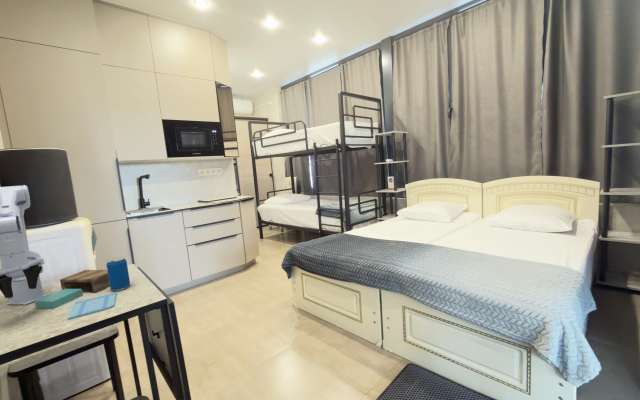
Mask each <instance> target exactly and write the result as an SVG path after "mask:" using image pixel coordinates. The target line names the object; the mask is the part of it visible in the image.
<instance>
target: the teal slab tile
mask: <svg viewBox="0 0 640 400" xmlns="http://www.w3.org/2000/svg"><path fill="white" fill-rule="evenodd" d="M82 296H84V295H83V289H82V288H75V289H63V290H62V289H61V290H59V291H56V292H53V293H52V294H50V295H48V296H46V297H43V298H41V299H39V300H36V301H34V305H35V309H48V310H49V309H51V310H52V309H56V308H58V307H60V306H63V305H65V304H67V303H69V302H71V301H74V300H76V299H77V298H80V297H82Z"/></svg>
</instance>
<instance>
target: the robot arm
mask: <svg viewBox="0 0 640 400" xmlns="http://www.w3.org/2000/svg"><path fill="white" fill-rule="evenodd" d="M30 197H31V196H30V192H29V188H28V185H25V184H23V185H12V186H9V185H8V186H0V263H1V268H0V291H1V293H2V295H3V296H4V298H5V299H8V302H6V305H18V306H19V305H29V304H31V303H35V301H36V300H39V299H41V298H44V297H46V296H49V295H51V294H50V293H44V291H43V286H42V281H41V277H40V275H41V274H42V273H43V272H44V264H45V260H44V258H42V256H41V254H39V253H38V252H36V251H32V250H30V249H29V241H28V236H27V230H26V224H25V223H26V222H25V218H24V214H25V210H27V209H29V208H30V207H31V200H30V199H31V198H30Z"/></svg>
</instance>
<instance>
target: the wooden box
mask: <svg viewBox="0 0 640 400" xmlns="http://www.w3.org/2000/svg"><path fill="white" fill-rule="evenodd" d="M59 282H60V286H61V290H63V289H79V288H80V287H82V286H85V285H88V286H89V285H91V288H92V293H94V294H95V293H99V292H102V291H103V290H105V289H107V288H110V283H109V277H108V271H107V269H84V270H82V271H78V272H76V273H73V274H71V275H68V276H66V277H63V278H60V279H59Z"/></svg>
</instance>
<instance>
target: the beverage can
mask: <svg viewBox="0 0 640 400" xmlns="http://www.w3.org/2000/svg"><path fill="white" fill-rule="evenodd" d="M105 265H106V270H107V271H108V277H109V283H110V286H109V289H110V290H111V291H113V292H118V291H122V290H126V289H127V288H129V286H130V285H131V281H130V280H131V279H130V274H129V269H128V262H127V259H126V258H125V257H124V256H120V257H114V258H111V259H108V260H107V261H106V264H105Z"/></svg>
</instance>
